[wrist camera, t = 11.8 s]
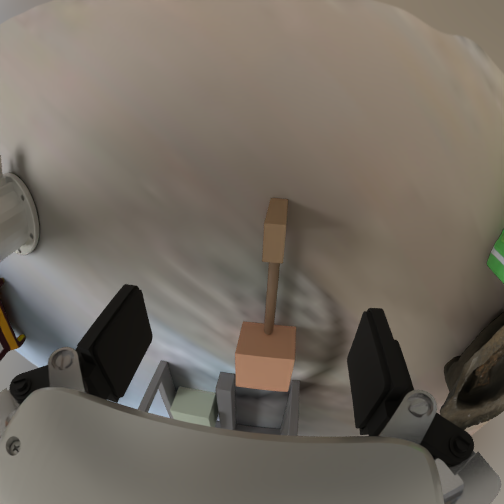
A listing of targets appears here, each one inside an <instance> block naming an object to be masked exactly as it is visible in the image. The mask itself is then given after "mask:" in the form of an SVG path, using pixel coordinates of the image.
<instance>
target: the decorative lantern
mask: <svg viewBox="0 0 504 504" xmlns="http://www.w3.org/2000/svg"><path fill="white" fill-rule="evenodd" d="M3 284H4V279H3V278H0V288H1V286H2V285H3ZM25 339H26V337H25V335H23V334H21V335H20V336H19V337H18V338H16V336H15V334H14V331H13V329H12V327H11V325H10V322H9V320H8V317H7V315H6V313H5V310H4V308H3V305H2V302H1V300H0V360H2V358H3V357H4V356H5V355H6V353H7V352H8V351H10V350H14V349H17V348H19V347H21V345H22V344H23V343H24V341H25Z"/></svg>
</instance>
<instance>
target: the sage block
mask: <svg viewBox="0 0 504 504" xmlns="http://www.w3.org/2000/svg"><path fill="white" fill-rule="evenodd" d="M170 411H171V414H172V416H173V418H174V419H175V420H180V421H184V422H189V423H194V424H199V425H204V426H210V427H215V424H216V420H217V417H218V413H219V411H218V403H217V398H216V393H213V392H207V391H201V390H196V389H190V388H185V387H180V386H179V388H178V391H177V393H176V396H175V398H174V401H173V404H172V406H171V409H170Z"/></svg>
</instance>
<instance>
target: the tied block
mask: <svg viewBox="0 0 504 504" xmlns="http://www.w3.org/2000/svg"><path fill="white" fill-rule="evenodd" d="M287 207H288V199H278V198H271V200H270V203H269V207H268V211H267V215H266V219H265V222H264V238H263V257H262V262H269V268H268V282H267V296H266V310H265V323H264V324H262V323H253V322H244V321H243V324H242V328H241V332H240V336H239V340H238V344H237V348H236V352H235V368H236V386H238V387H245V388H253V389H261V390H271V391H282V392H288V389H289V384H290V380H291V375H292V371H293V366H294V361H295V342H296V327H293V326H282V325H274V318H275V309H276V299H277V289H278V278H279V267H280V263H283V256H284V245H285V234H286V222H287Z"/></svg>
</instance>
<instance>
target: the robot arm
mask: <svg viewBox="0 0 504 504" xmlns="http://www.w3.org/2000/svg"><path fill="white" fill-rule="evenodd" d="M38 239H39V221H38V215H37V211H36V207H35V204H34V202H33V199H32V197H31V194H30V192H29V190H28V189H27V187H26V185H25V184H24V183H23V182H22V180H21V179H20V178H19V177H17V176H16V175H14V174H12V173H6V174H2V163H1V155H0V262H1V261H3V260H4V259H5V258H6V257H8V256H9V255H10V254H12V253H13V252H15V253H17V254H20V255H27V254H29V253H30V252H32V251H33V250H34V249H35V248H36V246H37V243H38ZM151 341H152V331H151V327H150V323H149V319H148V315H147V311H146V307H145V303H144V298H143V294H142V291H141V290H139V288H138V286H134V285H128V284H125V285H124V286H123V287H122V288H121V289H120V290H119V292H118V293H117V294H116V295H115V297H114V298H113V299H112V300H111V302H110V303H109V304H108V305H107V307H106V308H105V309H104V310H103V312H102V313H101V314H100V316H99V317H98V318H97V319H96V321H95V322H94V323H93V325H92V326H91V327H90V329H89V330H88V331H87V333H86V334H85V335H84V337H83V338H82V339H81V341H80V342H79V344H78V345H77V346H78V347H77V348H76V350H74V349H72V348H70V347H63V348H60V349H57V350H56V351H54V352H53V353H52V354H51V356H50V358H49V361H48V365H46V366H43V367H40V368H37V369H34V370H31V371H28V372H25V373H22V374H19V375H17V376H16V377H15V378H14V379H13V380H12V382H11V384H10V389H9V390H7V388H6V389H4V390H2V391H1V392H0V504H490V503H491V502H492V501H493V500H494V499H495V497H496V496H497V495H498V493H499V491H500V488H501V480H500V478H499V476H498V475H497V474H496V473H495V471H494V470H493V469H492V468H491V467H490V465H489V464H488V463H487V462H486V460H485V459H484V458H483V457H482V456H481V454H480V453H479V452H477V453H475V452H474V451H473V449H474V442H473V439H472V437H471V436H470V434H468V433H467V432H466V431H464V430H463V429H461V428H460V427H458V426H456V425H455V424H453V423H452V422H450V421H449V420H447V419H445V418H444V417H442V416H441V415H439V414H438V413H436V411H437V404H436V401H435V399H434V398H433V396H432V395H431V394H429V393H428V392H426V391H423V390H414V388H413V385H412V381H411V378H410V375H409V372H408V369H407V366H406V362H405V359H404V356H403V354H402V351H401V348H400V345H399V343H398V341H397V340H394V339H393V336H392V333H391V330H390V327H389V324H388V322H387V319H386V316H385V314H384V311H383V309H380V308H369V309H368V310H367V311H364V312H363V315H362V318H361V321H360V324H359V327H358V329H357V332H356V335H355V338H354V341H353V344H352V346H351V349H350V352H349V354H348V358H347V364H348V371H349V378H350V385H351V392H352V400H353V408H354V417H355V425H356V428H360V435H367V434H369V436H350V437H313V436H286V435H272V434H261V433H252V432H243V431H235V430H228V429H222V428H216V427H210V426H204V425H199V424H194V423H189V422H184V421H180V420H175V419H171V418H167V417H163V416H159V415H155V414H151V413H148V412H144V411H141V410H137V409H134V408H130V407H127V406H124V405H121V404H118V403H117V402H118V400H119V398H120V397H123V396H124V394H125V392H126V390H127V388H128V386H129V384H130V382H131V380H132V378H133V376H134V374H135V372H136V370H137V368H138V366H139V365H140V363H141V361H142V359H143V357H144V355H145V353H146V351H147V349H148V347H149V345H150V343H151ZM108 400H110V401H108ZM111 401H113V402H111ZM114 402H116V403H114Z"/></svg>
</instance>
